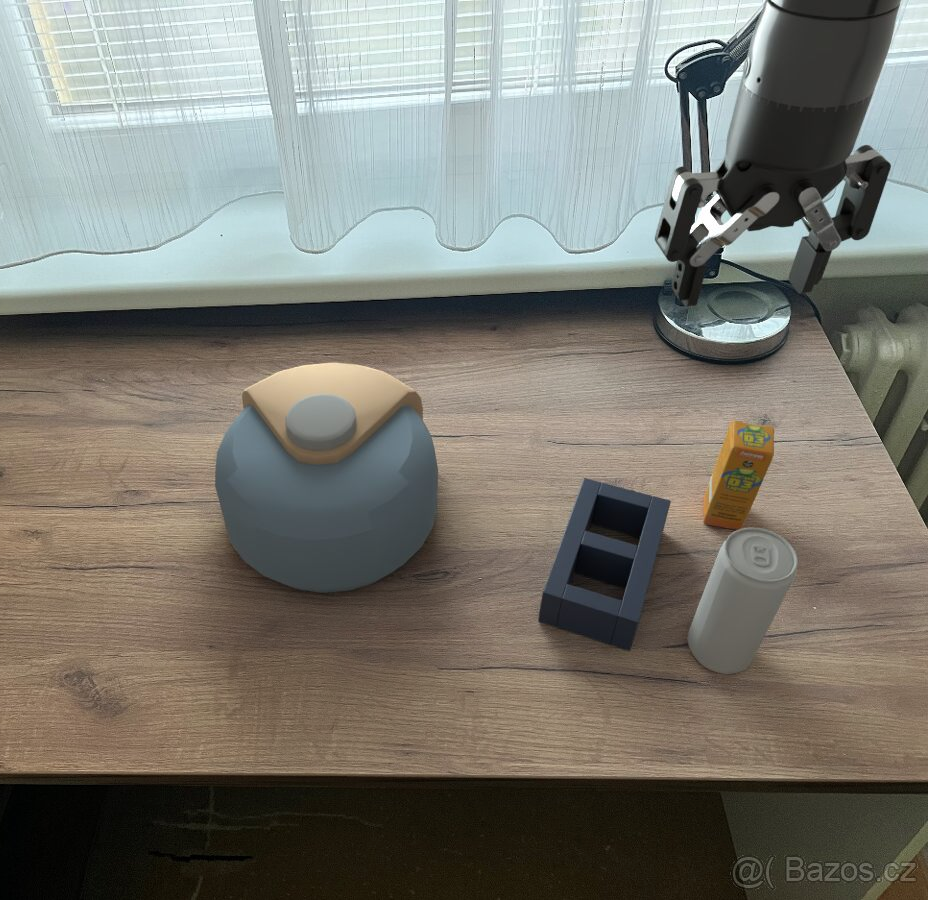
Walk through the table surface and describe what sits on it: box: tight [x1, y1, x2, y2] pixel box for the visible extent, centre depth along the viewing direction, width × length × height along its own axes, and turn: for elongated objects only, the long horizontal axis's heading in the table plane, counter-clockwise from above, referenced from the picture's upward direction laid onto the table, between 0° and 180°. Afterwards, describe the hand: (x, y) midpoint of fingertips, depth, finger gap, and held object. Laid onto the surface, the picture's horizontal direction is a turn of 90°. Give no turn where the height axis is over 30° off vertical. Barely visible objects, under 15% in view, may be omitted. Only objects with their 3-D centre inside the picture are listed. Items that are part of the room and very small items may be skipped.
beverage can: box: [686, 527, 799, 675], centre depth 63 cm, size 5×5×12 cm
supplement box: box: [702, 419, 775, 531], centre depth 72 cm, size 3×3×10 cm
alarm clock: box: [214, 362, 439, 594], centre depth 76 cm, size 19×20×12 cm
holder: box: [538, 477, 672, 652], centre depth 71 cm, size 7×13×4 cm, turn 154°
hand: (742, 293), depth 65 cm, fingers open, 8 cm apart
